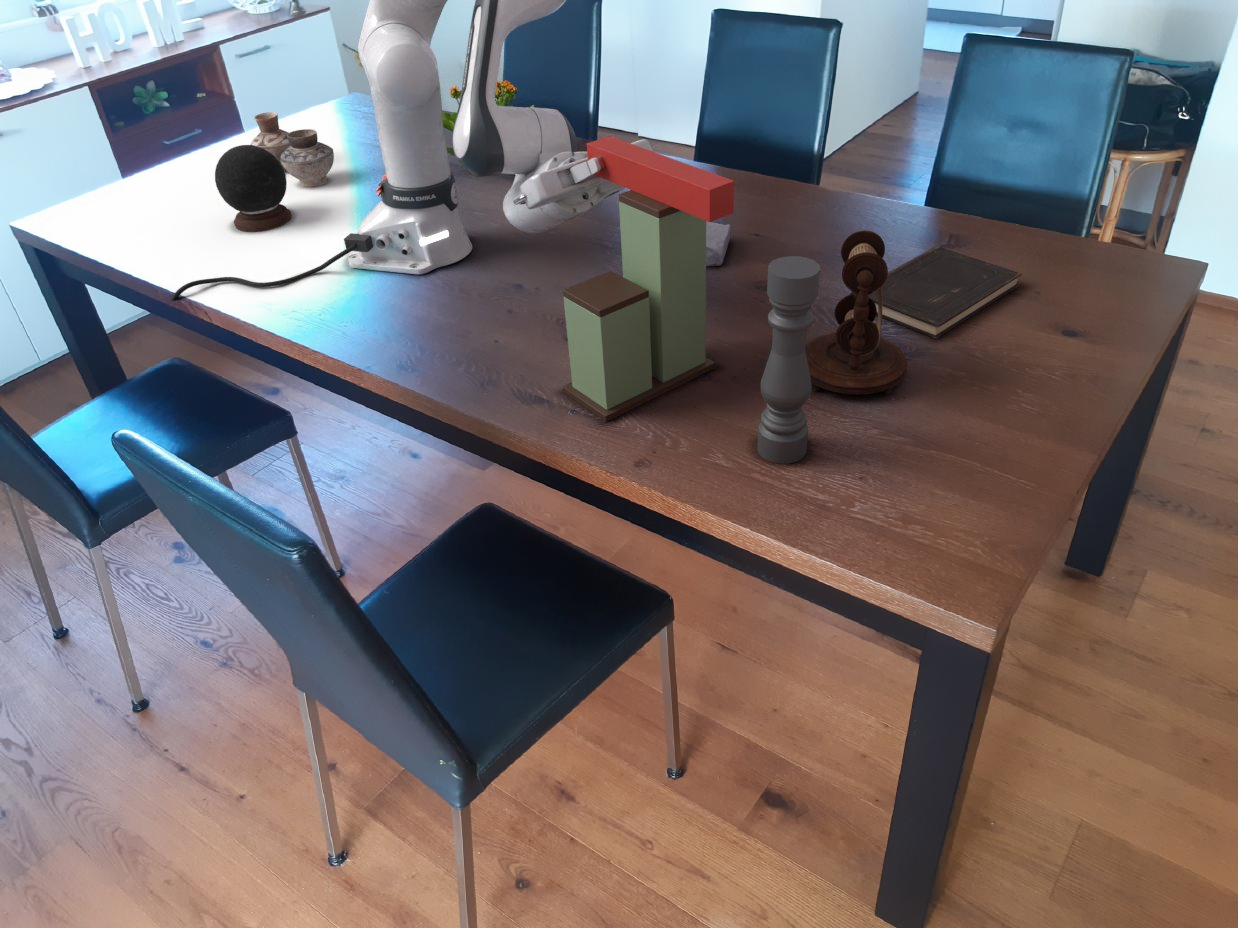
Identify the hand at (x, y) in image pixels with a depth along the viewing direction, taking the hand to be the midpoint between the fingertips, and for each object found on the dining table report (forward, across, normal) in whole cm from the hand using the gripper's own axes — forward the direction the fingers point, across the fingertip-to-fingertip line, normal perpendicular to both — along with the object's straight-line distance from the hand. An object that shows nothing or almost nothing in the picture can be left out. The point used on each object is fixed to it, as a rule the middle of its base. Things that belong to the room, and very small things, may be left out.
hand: (616, 157), depth 121 cm
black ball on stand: (-92, -23, -20) cm, 97 cm away
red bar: (+6, 0, +6) cm, 9 cm away
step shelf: (-6, -5, +29) cm, 30 cm away
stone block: (-28, +30, +17) cm, 44 cm away
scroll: (+10, +18, +39) cm, 44 cm away
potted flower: (-85, +28, -16) cm, 91 cm away
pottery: (-109, -7, -30) cm, 113 cm away
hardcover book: (+5, +45, +36) cm, 58 cm away
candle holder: (+15, -2, +42) cm, 45 cm away
